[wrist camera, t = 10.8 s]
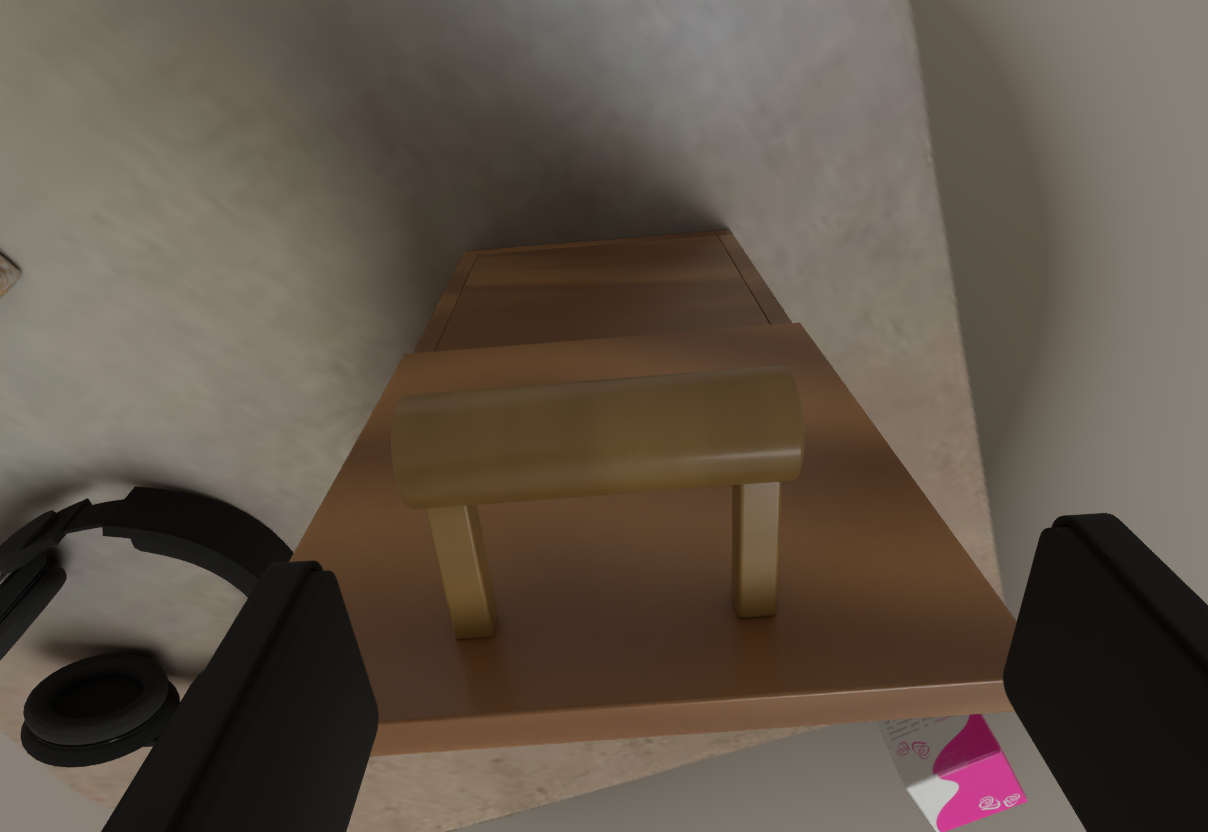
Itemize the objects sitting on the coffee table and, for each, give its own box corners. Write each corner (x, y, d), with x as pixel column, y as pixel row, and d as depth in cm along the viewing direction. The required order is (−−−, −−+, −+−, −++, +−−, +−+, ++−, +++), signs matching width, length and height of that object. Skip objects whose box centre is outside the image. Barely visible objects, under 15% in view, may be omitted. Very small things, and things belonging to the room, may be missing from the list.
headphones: (-178, 642, 38) (162, 496, 37) (-74, 550, 45) (214, 425, 44) (64, 827, 46) (348, 713, 45) (120, 725, 53) (368, 624, 52)
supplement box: (869, 684, 53) (935, 839, 43) (838, 634, 51) (900, 786, 41) (946, 653, 52) (1032, 806, 42) (917, 600, 50) (1002, 749, 40)
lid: (1047, 711, 12) (1136, 411, 9) (205, 769, 12) (66, 494, 9) (799, 343, 25) (807, 182, 23) (409, 374, 26) (374, 218, 23)
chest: (728, 469, 44) (780, 633, 33) (504, 486, 44) (476, 655, 33) (730, 229, 37) (796, 327, 25) (464, 251, 37) (409, 358, 26)
